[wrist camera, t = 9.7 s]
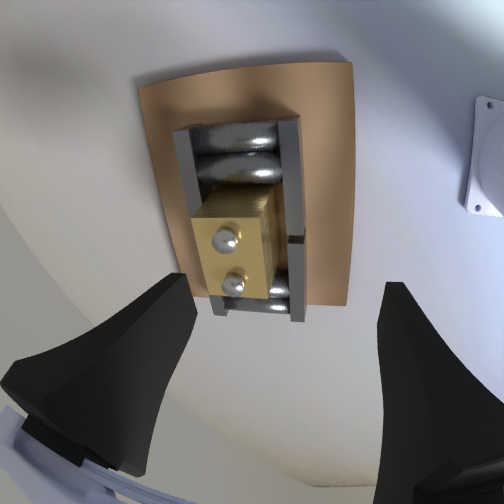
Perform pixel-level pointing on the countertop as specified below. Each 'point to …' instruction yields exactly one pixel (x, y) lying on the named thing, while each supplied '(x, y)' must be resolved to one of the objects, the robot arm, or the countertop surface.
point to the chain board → (315, 175)
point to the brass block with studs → (239, 239)
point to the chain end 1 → (244, 161)
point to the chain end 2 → (276, 288)
